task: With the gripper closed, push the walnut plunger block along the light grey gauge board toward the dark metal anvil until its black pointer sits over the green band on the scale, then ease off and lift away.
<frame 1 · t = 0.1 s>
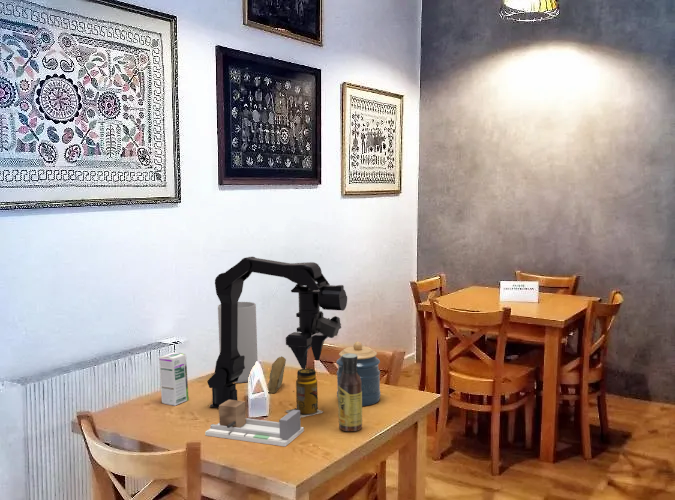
hand: (310, 364, 183), 15 cm above the table, tool pointing down, fingers open, 9 cm apart
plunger: (229, 416, 173), point 4 cm above the table, slide at 0.0 cm
sauce bottle: (350, 429, 174), on the table
condiment: (304, 412, 188), on the table
rock: (273, 389, 211), on the table
canister: (358, 400, 197), on the table
gauge base: (254, 433, 172), on the table
cylinder vase: (239, 378, 223), on the table
syrup box: (175, 402, 199), on the table
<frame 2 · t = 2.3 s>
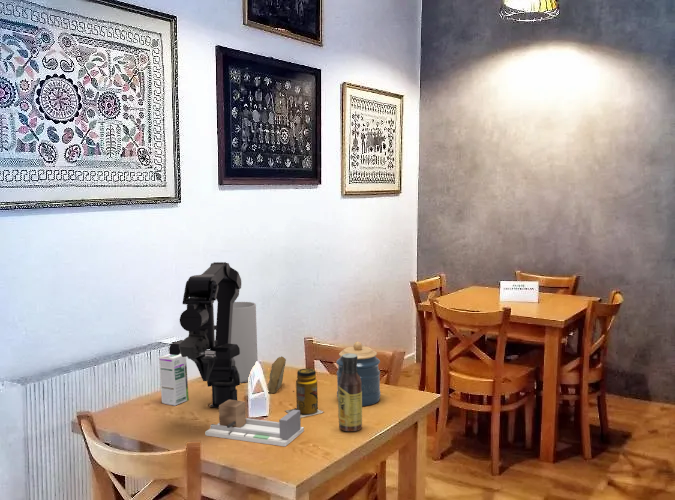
hand: (205, 380, 176), 13 cm above the table, tool pointing down, fingers closed
nothing on the table moved.
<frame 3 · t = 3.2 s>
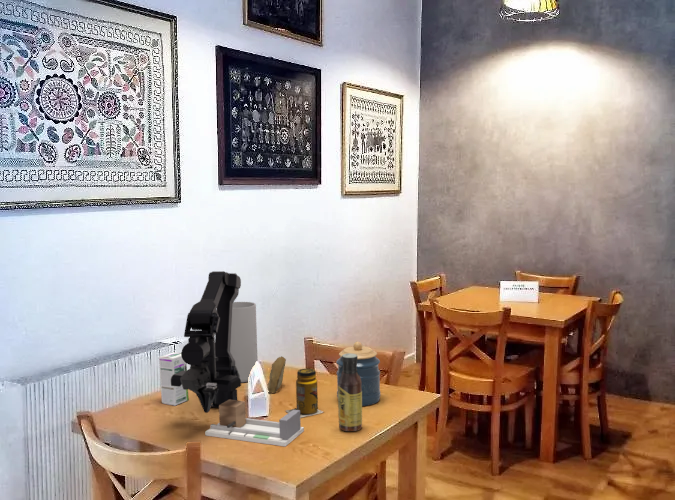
hand: (206, 412, 177), 4 cm above the table, tool pointing down, fingers closed
nothing on the table moved.
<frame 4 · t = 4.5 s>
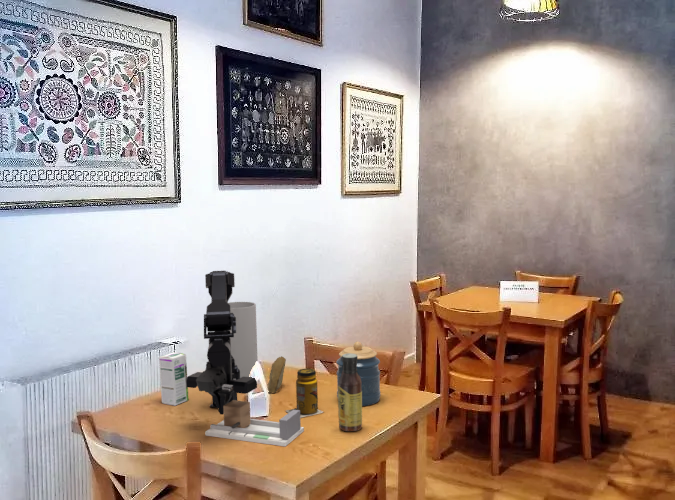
hand: (222, 414, 175), 4 cm above the table, tool pointing down, fingers closed
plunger: (233, 416, 172), point 4 cm above the table, slide at 1.4 cm, touching gripper
everything else where it was.
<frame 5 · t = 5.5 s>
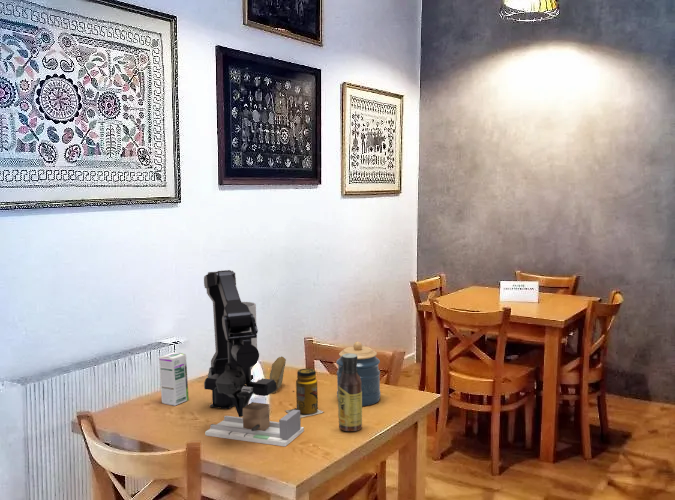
hand: (241, 416, 173), 4 cm above the table, tool pointing down, fingers closed
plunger: (253, 419, 170), point 4 cm above the table, slide at 7.1 cm, touching gripper
everything else where it was.
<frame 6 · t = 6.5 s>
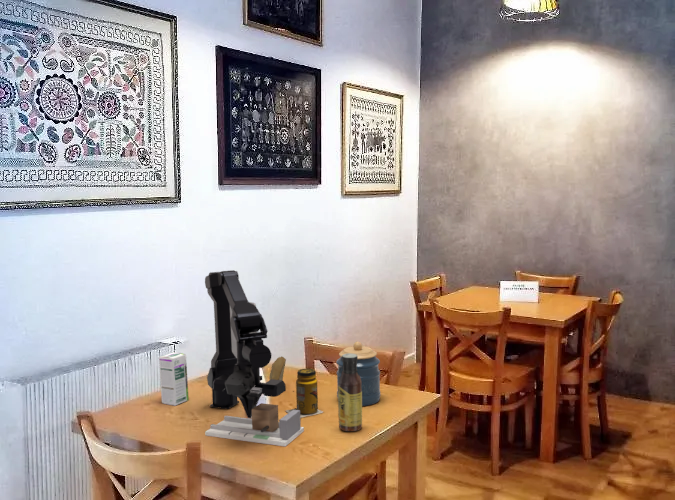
hand: (250, 417, 172), 4 cm above the table, tool pointing down, fingers closed
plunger: (262, 420, 169), point 4 cm above the table, slide at 9.7 cm, touching gripper
everything else where it was.
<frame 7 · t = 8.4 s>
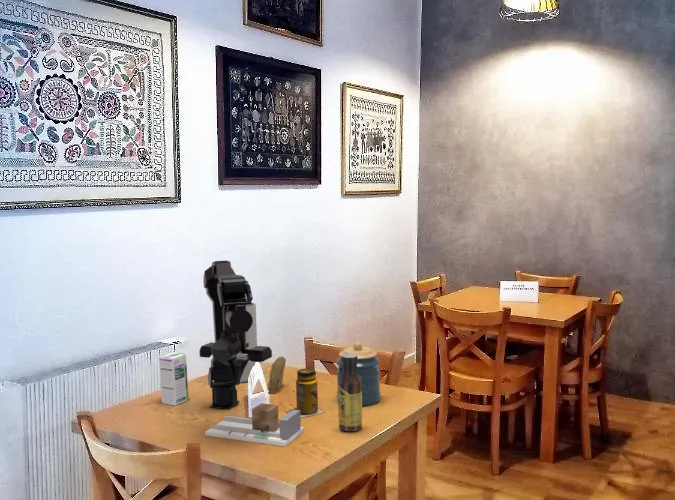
hand: (236, 384, 173), 13 cm above the table, tool pointing down, fingers closed
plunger: (262, 420, 169), point 4 cm above the table, slide at 9.7 cm
everything else where it was.
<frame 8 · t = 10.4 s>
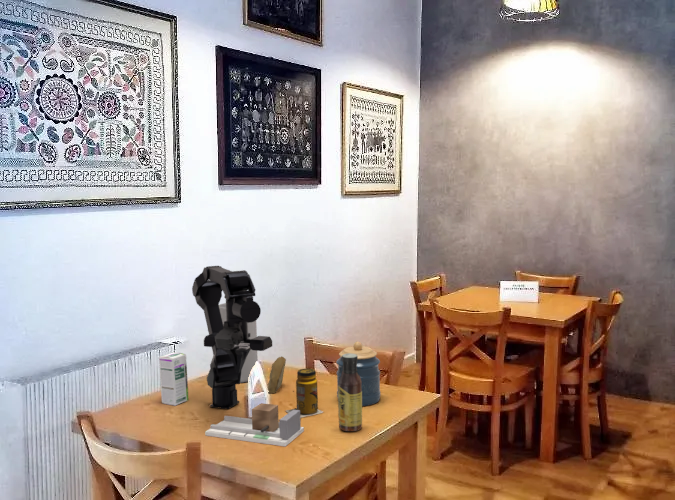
hand: (238, 372, 183), 13 cm above the table, tool pointing down, fingers closed
nothing on the table moved.
at the end: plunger slide at 9.7 cm; the gripper is holding nothing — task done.
